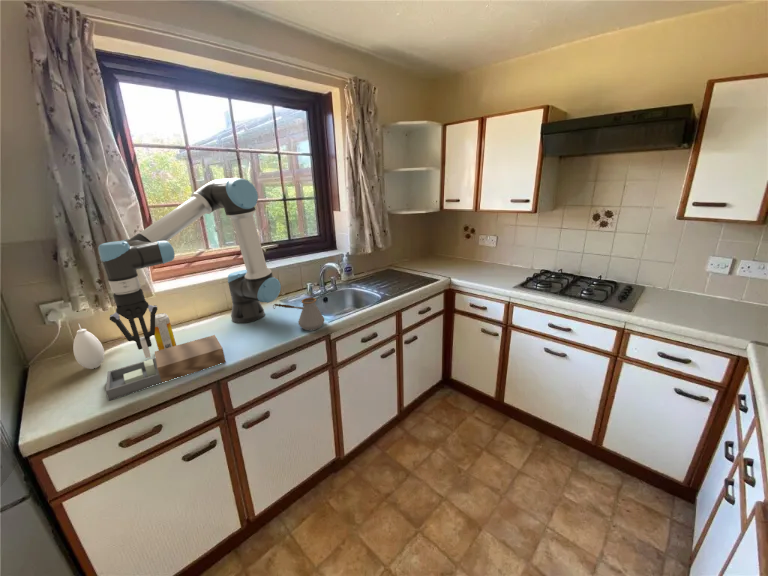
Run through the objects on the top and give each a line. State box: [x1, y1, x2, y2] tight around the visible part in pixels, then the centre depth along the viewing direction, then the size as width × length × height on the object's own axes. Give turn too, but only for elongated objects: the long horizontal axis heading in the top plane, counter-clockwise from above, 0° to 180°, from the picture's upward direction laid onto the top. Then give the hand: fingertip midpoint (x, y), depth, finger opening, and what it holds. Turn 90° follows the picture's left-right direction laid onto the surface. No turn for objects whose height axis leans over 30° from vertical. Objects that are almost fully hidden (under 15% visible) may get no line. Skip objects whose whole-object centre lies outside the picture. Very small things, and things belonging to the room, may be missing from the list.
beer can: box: [153, 312, 177, 351], centre depth 130 cm, size 6×6×15 cm
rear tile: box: [144, 358, 156, 377], centre depth 113 cm, size 5×5×2 cm
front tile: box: [123, 369, 144, 384], centre depth 111 cm, size 5×5×2 cm
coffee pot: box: [272, 297, 325, 332], centre depth 143 cm, size 21×12×15 cm, turn 126°
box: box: [105, 357, 163, 401], centre depth 111 cm, size 14×14×4 cm
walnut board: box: [154, 334, 227, 383], centre depth 120 cm, size 20×14×6 cm
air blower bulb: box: [72, 322, 105, 370], centre depth 119 cm, size 8×8×18 cm
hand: (147, 355), depth 112 cm, fingers closed
